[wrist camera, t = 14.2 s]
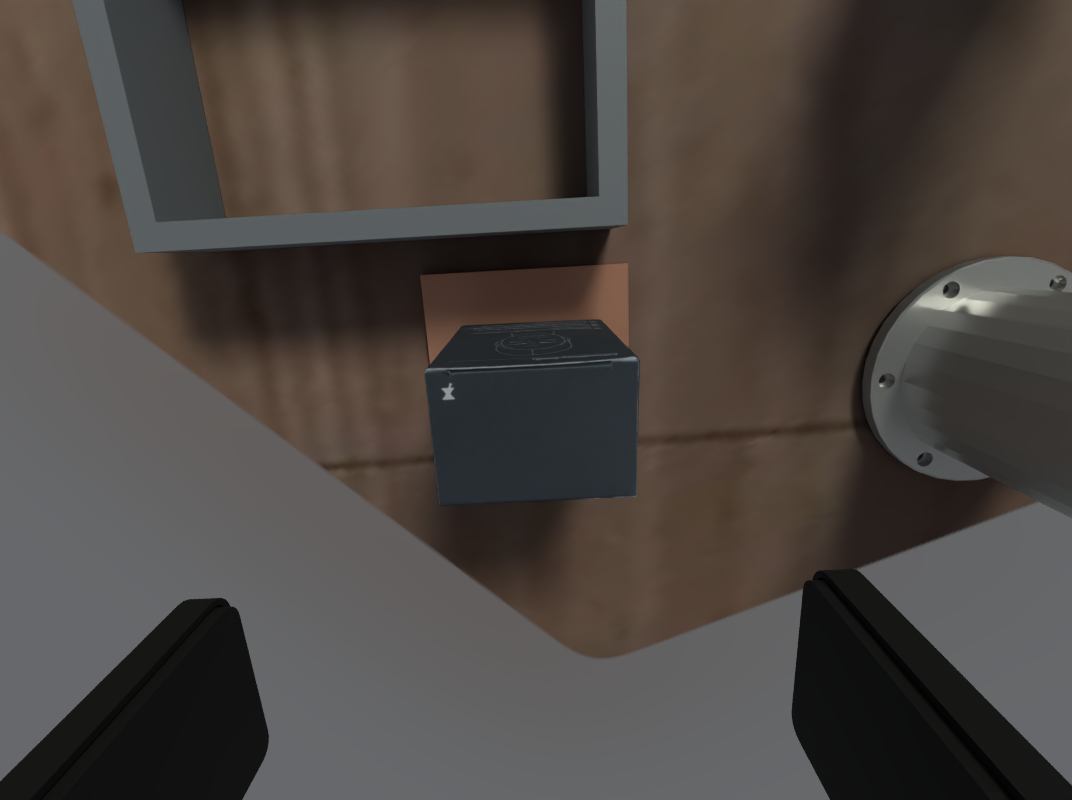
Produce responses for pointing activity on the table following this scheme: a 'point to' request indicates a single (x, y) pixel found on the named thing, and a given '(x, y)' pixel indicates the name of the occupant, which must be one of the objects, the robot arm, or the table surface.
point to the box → (534, 413)
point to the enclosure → (201, 226)
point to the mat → (524, 299)
